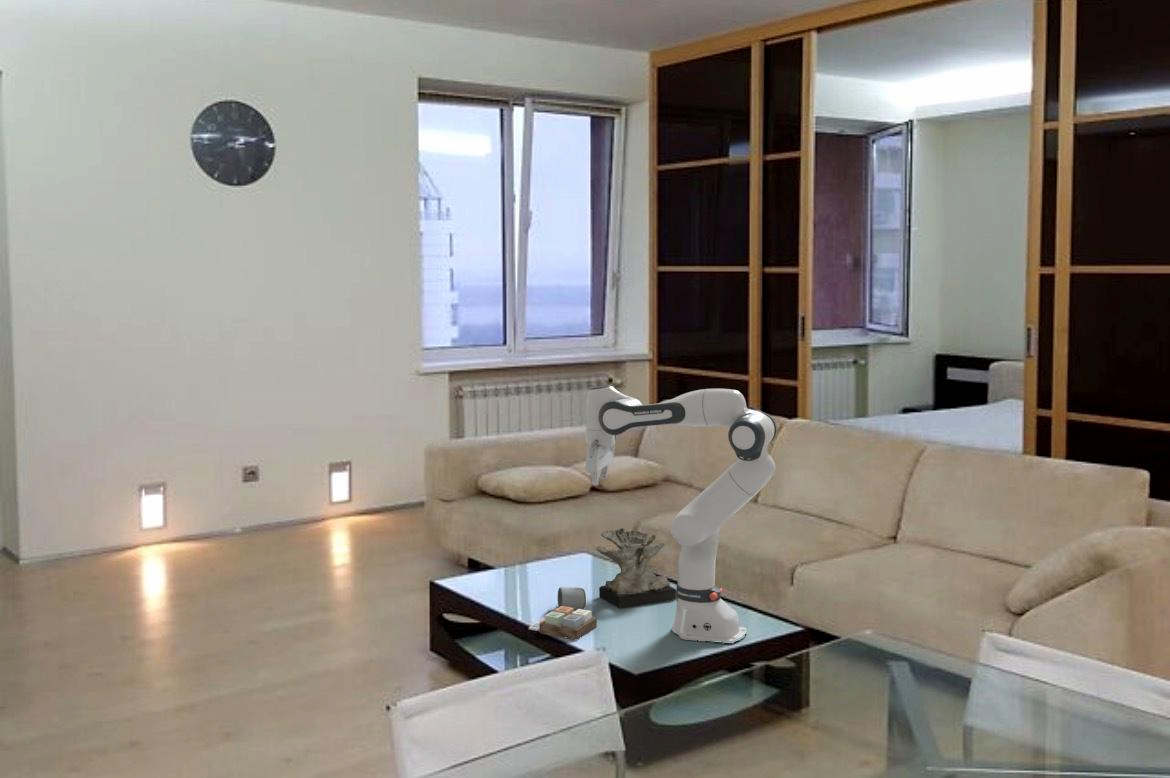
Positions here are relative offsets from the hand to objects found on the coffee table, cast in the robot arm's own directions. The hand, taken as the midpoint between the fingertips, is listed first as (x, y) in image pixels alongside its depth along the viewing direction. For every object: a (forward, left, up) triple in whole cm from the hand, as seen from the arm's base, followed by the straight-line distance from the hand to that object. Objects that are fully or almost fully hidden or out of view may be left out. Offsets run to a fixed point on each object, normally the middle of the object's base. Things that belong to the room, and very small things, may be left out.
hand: (599, 481), depth 358 cm
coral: (0, -23, -43) cm, 49 cm away
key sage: (+5, +19, -41) cm, 46 cm away
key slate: (-1, +19, -41) cm, 45 cm away
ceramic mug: (+11, -2, -43) cm, 45 cm away
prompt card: (+12, +16, -43) cm, 47 cm away
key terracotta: (+5, +13, -41) cm, 43 cm away
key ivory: (-1, +13, -41) cm, 43 cm away
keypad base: (+2, +16, -43) cm, 46 cm away
